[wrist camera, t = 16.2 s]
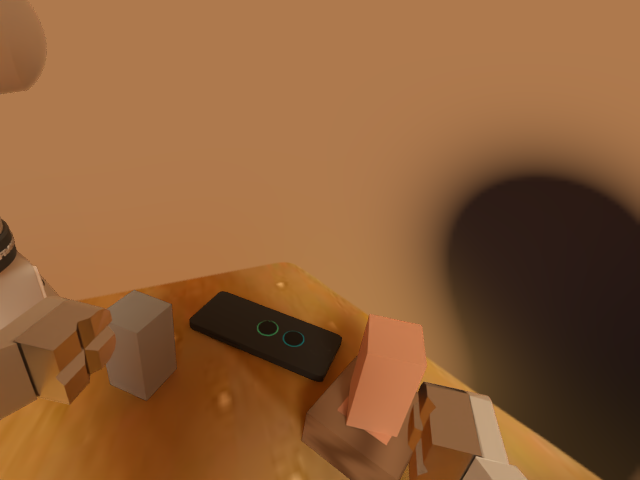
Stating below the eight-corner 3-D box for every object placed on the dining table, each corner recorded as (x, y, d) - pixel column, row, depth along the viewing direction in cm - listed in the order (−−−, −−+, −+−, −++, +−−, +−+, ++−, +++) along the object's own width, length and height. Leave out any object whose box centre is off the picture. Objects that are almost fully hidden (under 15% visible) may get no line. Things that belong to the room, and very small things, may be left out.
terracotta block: (346, 425, 36) (367, 352, 31) (350, 383, 40) (369, 313, 35) (397, 437, 36) (427, 366, 31) (395, 393, 40) (421, 325, 35)
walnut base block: (301, 442, 39) (306, 411, 37) (349, 383, 47) (357, 354, 44) (385, 509, 35) (397, 479, 32) (424, 432, 42) (436, 403, 40)
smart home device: (322, 377, 45) (186, 320, 50) (320, 387, 46) (187, 330, 51) (343, 334, 52) (222, 288, 57) (341, 343, 53) (222, 297, 58)
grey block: (110, 384, 42) (95, 316, 37) (143, 354, 46) (133, 289, 41) (146, 401, 41) (136, 333, 36) (176, 368, 45) (171, 304, 40)
